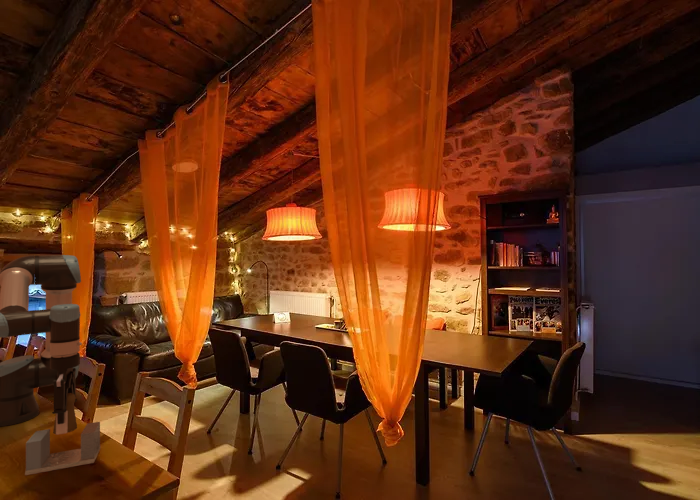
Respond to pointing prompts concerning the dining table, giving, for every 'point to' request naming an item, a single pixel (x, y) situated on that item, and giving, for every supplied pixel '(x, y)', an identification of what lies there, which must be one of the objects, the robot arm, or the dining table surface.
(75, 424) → the wooden pawn
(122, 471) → the dining table surface
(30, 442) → the block
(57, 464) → the vise
